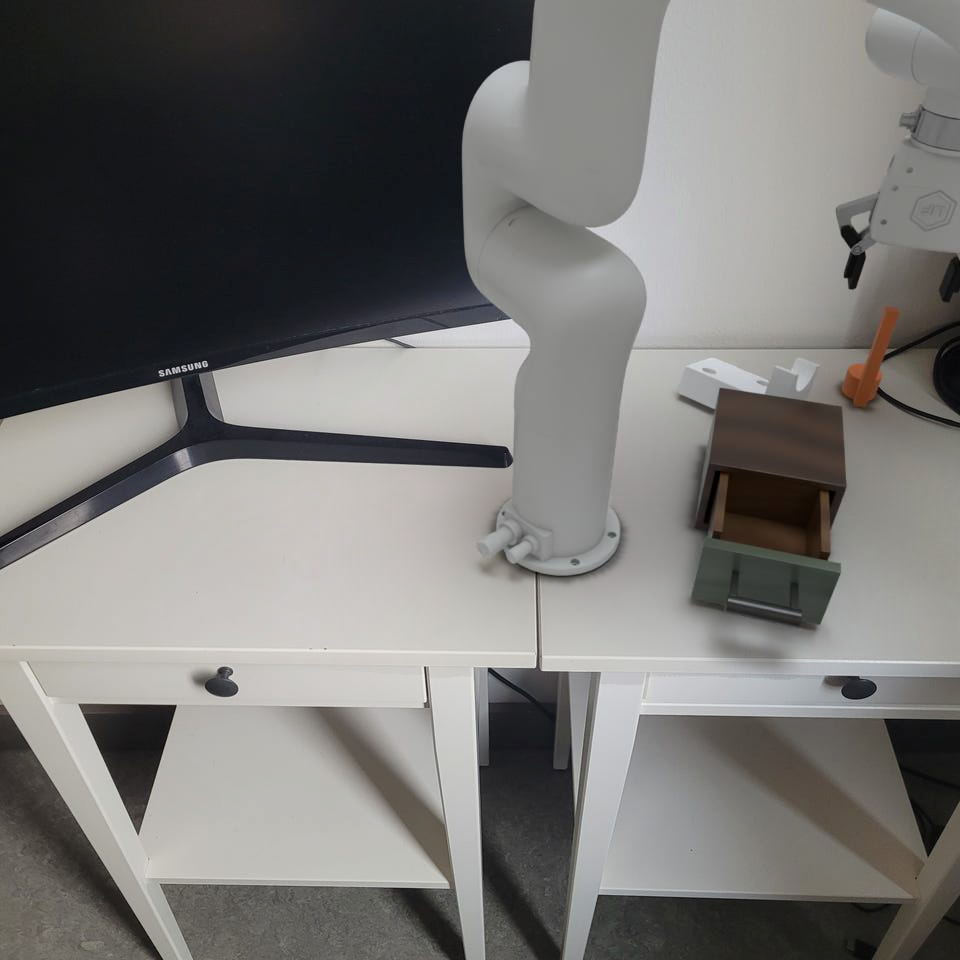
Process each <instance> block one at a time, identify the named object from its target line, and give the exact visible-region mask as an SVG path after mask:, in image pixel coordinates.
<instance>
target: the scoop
mask: <svg viewBox="0 0 960 960" xmlns="http://www.w3.org/2000/svg"><path fill="white" fill-rule="evenodd" d="M899 317H900V307H896V306H895V307H894V306H888V305H887V306H886V305H885V307H884V310H883V313H882V315H881V319H880V321H879V324H878V327H877V330H876V333H875V336H874V339H873V342H872V344H871V347H870V350H869V353H868V356H867V359H866V362H865V363H853V364H850V365H849V367H848V368H847V371H846V374H845V377H844V380H843V383H842V386H841V393H842V394H843V395H844V396H845V397H847V398H849V399H851V400H852V402H853V403H852V404H853V407H857V408H862V409H863V408H864V409H865V408H866V407H867V404H868V402H869V401H872V400H874V399H875V397H876V395H877V392H878V390H879V387H880V384H881V381H882V378H883V373H882V371H881V370H880V369H881V366H882V363H883V360H884V357H885V355H886V352H887V349H888V346H889V344H890V341H891V339H892V335H893V333H894V331H895V327H896V324H897V322H898V319H899Z"/></svg>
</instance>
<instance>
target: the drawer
mask: <svg viewBox="0 0 960 960" xmlns="http://www.w3.org/2000/svg"><path fill="white" fill-rule="evenodd" d="M831 543H832V542H831V531H830V512H829V490H826V489H820V488H814V487H809V486H803V485H797V484H792V483H786V482H780V481H775V480H769V479H763V478H758V477H752V476H746V475H740V474H735V473H729V472H723V471H720V473H719V477H718V481H717V485H716V490H715V494H714V498H713V502H712V507H711V512H710V519H709V527H708V530H707V535H706V536H704V537H703V541H702V546H701V548H700V549H701V550H700V554H699V557H698V562H697V566H696V571H695V575H694V579H693V583H692V588H691V594H690V598H691V599H695V600H700V601H705V602H708V603H714V604H719V605H723V606H724V613H725V614H729V615H733V616H738V617H743V618H747V619H752V620H757V621H761V622H766V623H771V624H775V625H779V626H784V627H788V628H794V629H800V626H801V624H802V622H803V623H807V624H813V625H818V626H820V625H821V624H822V622H823V619H824V617H825V614H826V612H827V609H828V606H829V604H830V601H831V599H832V596H833V595H834V591H835V589H836V587H837V584H838V582H839V579H840V577H841V574H842V566H841V565H842V563H841V562H836V561H830V560H829V558H830V556H831V553H832V545H831Z"/></svg>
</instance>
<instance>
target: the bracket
mask: <svg viewBox="0 0 960 960" xmlns="http://www.w3.org/2000/svg"><path fill="white" fill-rule="evenodd" d="M820 367H821V365H820V364H818V363H815V362H813V361H810V360H807V359H806V358H803V357H796V359H795V361H794V363H793V365H792V367H791V369H788V368H786V367H783V366H781V365H775V366H774V368H773V370H772V373H771V375H770V378H769V379H766V378H764V377H762V376H760V375H757V374H755V373H753V372H752V373H751V372H749V371H747V370H745V369H742V368H739V367H738V366H735V365H733V364H730V363H728V362H725V361H723V360H720V359H718V358H715V357H709V358H705V359H703V360H700V361H697V362H693V363H691V364H687V365H685V366H684V369H683V373H682V376H681V379H680V383H679V385H678V389H677V393H678V394H680V395H682V396H684V397H686V398H688V399H691V400H693V401H694V402H697V403H700V404H702V405H704V406H706V407H708V408H711V409H713V410H715V406H716V402H717V397H718V392H719V388H726V389H733V390H739V391H746V392H752V393H759V394H765V395H772V396H778V397H785V398H791V399H798V400H805V401H807V399H808V397H809V394H810V392H811V389H812V387H813V384H814V382H815V379H816V377H817V374H818V372H819V369H820Z"/></svg>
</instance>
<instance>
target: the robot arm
mask: <svg viewBox="0 0 960 960" xmlns="http://www.w3.org/2000/svg"><path fill="white" fill-rule="evenodd" d="M862 1H863V2H865V3H867V4H869V5H871V6H874V7H876V8H877V9H876V10H875V12H874V13H873V15H872V17H871V18H870V21H869V23H868V26H867V28H866V33H865V40H864V42H865V43H864V44H865V45H864V46H865V52H866V55H867V58H868V60H869V62H870V63H871V64H872V65H873V67H875V69H877V70H878V71H879V72H881V73H883V74H885V75H887V76H889V77H891V78H894V79H898V80H902V81H905V82H909V83H914V84H917V85H920V86H927V87H926V90H925V93H924V95H923V96H924V97H923V99H922V102H921V103H920V104H919V105H918V108H916V109H915V110H914V111H911V112H902V113H901V115H900V118H899V121H898V128H905V129H906V130H909V133H910V134H909V135H906V136H903V138H902V140H901V141H900V143H899V145H898V147H897V148H896V150H895V152H894V153H893V156H892V158H891V160H890V162H889V164H888V166H887V169H886V170H885V173H884V176H883V178H882V179H881V183H880V186H879V187H878V191H877V192H876V193H872V194H869V195H866V196H863V197H860V198H857V199H854V200H851V201H848V202H845V203H844V202H843V203H841V204H839V205H837V206H836V207H835V216H836V221H837V225H838V229H839V232H840V236H841V238H842V239H843V240H844V243H846V245H847V246H848V248H849V249H850V251H849V254H848V258H847V261H846V265H845V267H844V270H843V279H847V289H848V290H850V291H851V290H852V291H854V290H856V289H857V287H858V285H859V281H860V277H861V275H862V272H863V270H864V265H865V263H866V259H867V255H866V251H867V250H869V249H870V248H871V247H872V246H874V245H876V243H878V244H881V245H886V246H891V247H898V248H906V249H914V250H915V249H916V250H922V251H931V252H938V253H940V252H941V253H949V254H956V256H953V258H951V259H950V261H949V263H948V265H947V268H946V271H945V273H944V275H943V278H942V280H941V283H940V286H939V288H938V293H939V296H940V299H941V301H942V302H943V303H947V304H949V303H950V302H951V299H952V297H953V295H954V294H958V293H959V292H960V0H862ZM670 2H671V0H534V6H533V13H532V26H531V27H532V29H531V43H530V53H529V54H530V55H529V60H517V61H513V62H510V63H507V64H505V65H503V66H500V67H499V68H498V69H497V68H496V70H494V71H493V72H491V74H490V75H488V76H487V77H486V78H485V80H484V81H482V83H481V85H480V86H479V87H478V89H477V90H476V93H475V94H474V95H473V98H472V100H471V101H470V104H469V107H468V110H467V113H466V117H465V120H464V125H463V129H462V130H463V131H462V140H461V173H462V174H461V175H462V176H461V177H462V180H461V181H462V212H463V213H462V217H463V219H462V220H463V244H464V245H463V246H464V257H465V262H466V268H467V270H468V274H469V276H470V279H471V281H472V283H473V284H474V286H475V287H476V289H477V291H478V292H479V293H480V294H481V295H483V296H484V298H485V299H487V301H489V302H490V303H491V304H492V305H494V306H495V307H496V308H497V309H499V310H500V311H501V312H503V314H505V315H506V316H507V317H509V318H510V319H511V320H512V321H513V322H514V323H515V324H516V325H518V327H520V328H521V329H522V330H523V331H524V332H525V333H526V335H527V336H528V339H529V343H530V345H529V351H528V354H527V355H526V358H525V359H524V360H523V362H522V363H521V364H520V367H519V369H518V371H517V374H516V377H515V380H514V381H515V383H514V391H513V412H514V413H513V449H512V450H513V451H512V452H513V455H512V489H511V491H512V492H511V493H512V494H511V497H510V498H509V499H508V500H507V501H506V502H505V503H503V504H502V506H501V508H500V510H499V511H498V515H497V517H496V523H495V524H496V529H495V531H494V532H490V533H489V534H488V535H486V536H485V537H483V538H481V539H480V540H478V541H477V542H476V548H477V551H478V553H479V554H480V555H481V556H482V557H483V558H484V559H487V560H488V559H491V558H492V557H494V556H495V555H496V554H498V553H499V552H501V551H503V552H504V553H505V555H506V556H505V557H506V559H507V560H508V562H509V563H510V564H512V565H515V564H518V565H520V566H521V567H524V568H526V569H528V570H530V571H532V572H537V573H539V574H544V575H550V576H574V575H581V574H584V573H587V572H591V571H593V570H595V569H597V568H599V567H600V566H601V567H602V565H604V564H605V563H606V562H608V561H609V560H610V559H611V557H612V556H613V555H614V554H615V553H616V550H617V548H618V547H619V543H620V539H621V523H620V519H619V517H618V515H617V513H616V511H615V510H614V508H612V506H610V504H609V501H610V493H611V485H612V477H613V470H614V463H615V454H616V447H617V437H618V430H619V424H620V423H619V422H620V414H621V403H622V398H623V397H622V396H623V390H624V383H625V377H626V373H627V369H628V364H629V361H630V356H631V354H632V351H633V348H634V345H635V342H636V339H637V336H638V333H639V331H640V328H641V326H642V322H643V320H644V316H645V312H646V308H647V302H648V300H647V299H648V296H647V293H648V292H647V288H646V283H645V280H644V278H643V275H642V272H641V270H640V269H639V268H638V266H637V265H636V263H635V262H634V261H633V260H632V259H631V258H630V257H629V256H628V255H627V253H625V252H624V251H623V250H622V249H621V248H619V247H618V246H616V245H615V244H613V243H612V242H611V241H609V240H607V239H606V238H604V237H603V236H601V235H599V234H598V233H595V232H594V231H592V230H591V229H592V228H594V229H595V228H601V227H605V226H607V225H611V224H612V223H615V222H616V221H618V220H619V219H620V218H622V216H624V214H625V213H626V212H627V211H628V210H629V209H630V207H631V206H632V205H633V202H634V200H635V199H636V197H637V194H638V190H639V187H640V184H641V180H642V177H643V176H642V175H643V170H644V165H645V157H646V149H647V143H648V141H647V140H648V135H649V133H648V132H649V125H650V116H651V108H652V99H653V91H654V90H653V89H654V83H655V82H654V81H655V74H656V64H657V58H658V52H659V46H660V39H661V33H662V28H663V24H664V19H665V16H666V13H667V9H668V7H669V4H670ZM867 212H869V215H868V216H869V218H868V225H866V226H865V227H863V228H862V229H861V230H859V231H857V230H856V229H855V227H854V226H853V224H852V221H851V220H852V218H853V217H855V216H858V215H861V214H864V213H867Z"/></svg>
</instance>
